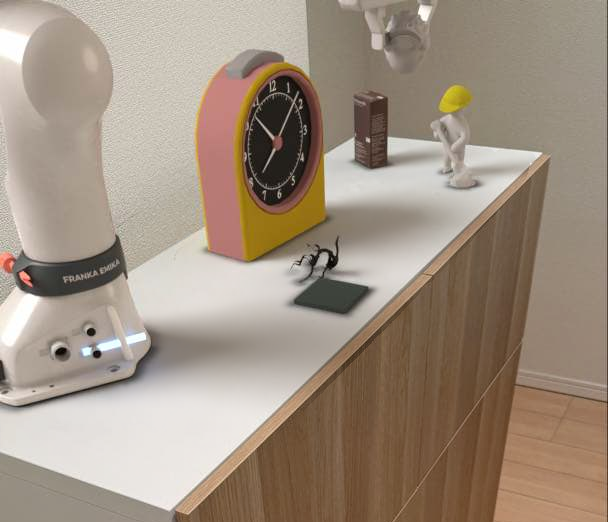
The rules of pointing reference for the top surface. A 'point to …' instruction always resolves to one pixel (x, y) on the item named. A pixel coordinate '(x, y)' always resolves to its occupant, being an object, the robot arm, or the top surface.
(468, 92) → the figurine
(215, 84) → the alarm clock
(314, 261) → the creature
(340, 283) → the coaster pad
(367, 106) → the box
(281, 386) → the top surface
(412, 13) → the white rounded lump
